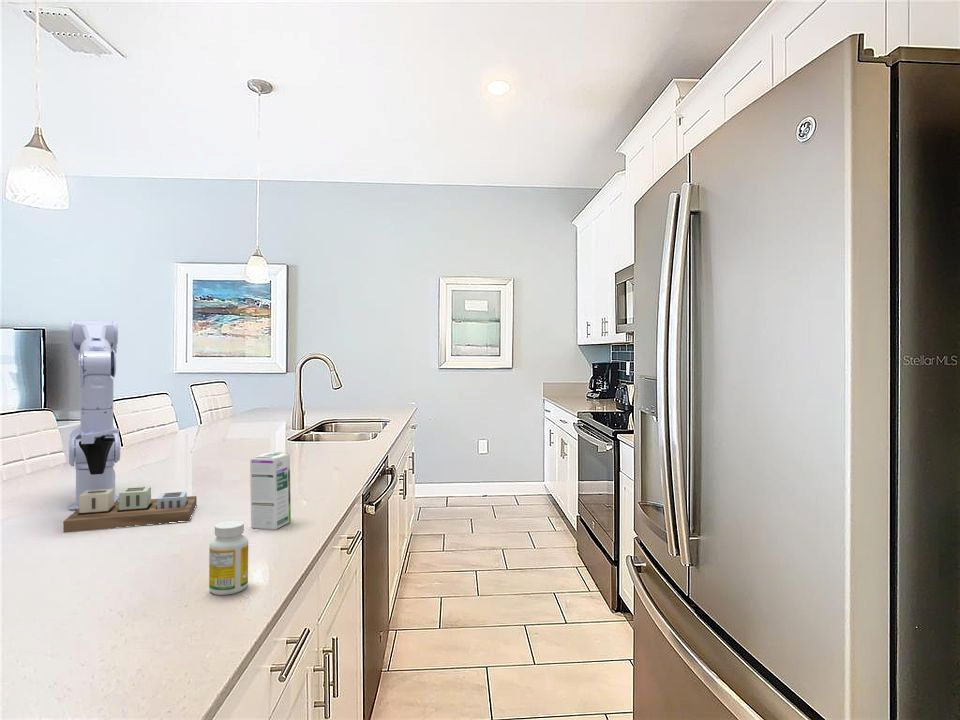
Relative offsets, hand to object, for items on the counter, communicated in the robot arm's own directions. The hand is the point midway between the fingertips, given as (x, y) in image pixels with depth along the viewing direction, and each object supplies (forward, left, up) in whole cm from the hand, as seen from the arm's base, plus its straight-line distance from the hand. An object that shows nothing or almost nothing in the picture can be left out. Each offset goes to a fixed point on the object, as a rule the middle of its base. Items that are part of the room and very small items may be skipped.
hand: (97, 473), depth 122 cm
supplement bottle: (+47, +28, -10) cm, 56 cm away
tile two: (0, +7, -7) cm, 10 cm away
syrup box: (+15, +34, -10) cm, 38 cm away
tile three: (0, +14, -9) cm, 17 cm away
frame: (0, +7, -10) cm, 12 cm away
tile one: (0, 0, -7) cm, 7 cm away
